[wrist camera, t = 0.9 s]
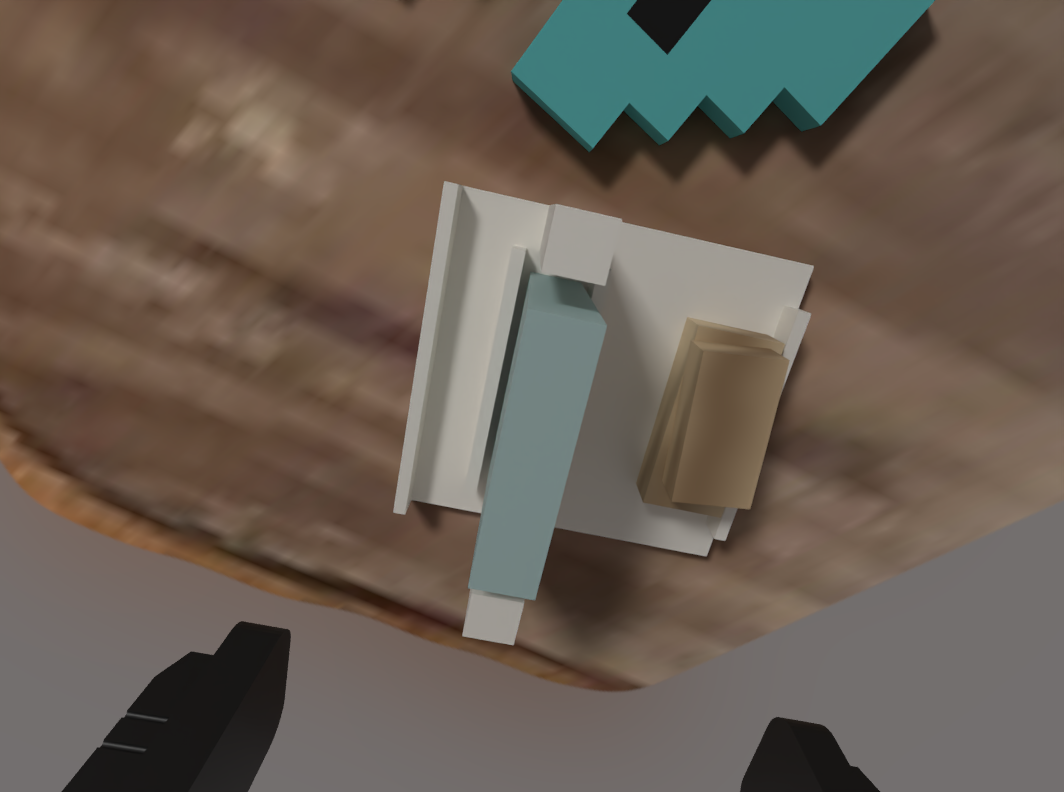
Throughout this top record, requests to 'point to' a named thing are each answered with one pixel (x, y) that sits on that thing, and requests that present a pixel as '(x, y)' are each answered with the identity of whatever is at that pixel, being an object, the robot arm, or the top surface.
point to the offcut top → (723, 423)
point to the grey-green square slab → (536, 434)
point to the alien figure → (705, 60)
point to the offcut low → (662, 429)
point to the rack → (621, 373)
